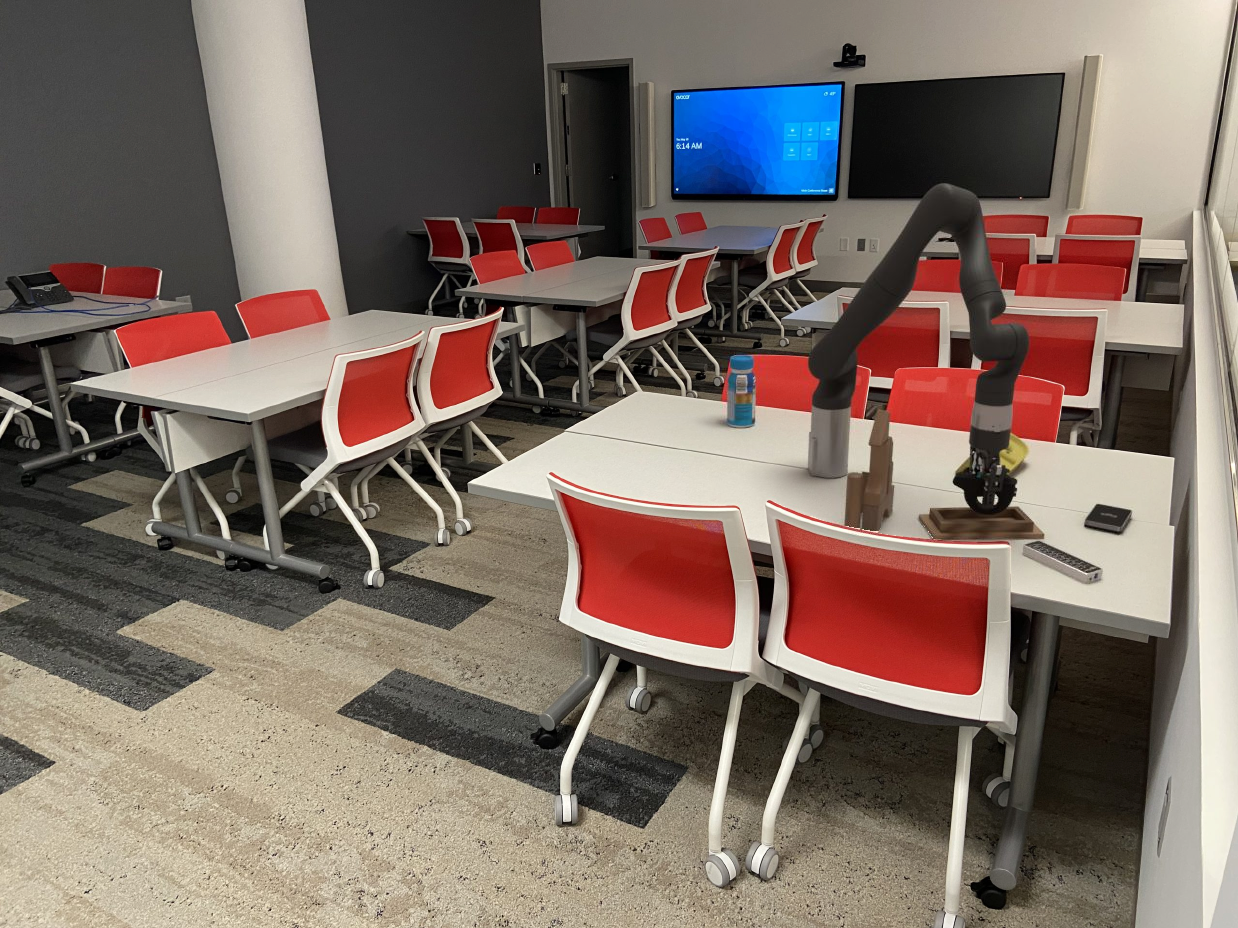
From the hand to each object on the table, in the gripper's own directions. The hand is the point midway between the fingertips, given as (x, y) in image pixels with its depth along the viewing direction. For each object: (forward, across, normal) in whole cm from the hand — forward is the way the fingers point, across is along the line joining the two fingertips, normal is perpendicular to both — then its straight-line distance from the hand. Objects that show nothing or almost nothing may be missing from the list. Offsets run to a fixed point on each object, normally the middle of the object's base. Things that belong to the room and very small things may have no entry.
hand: (982, 501), depth 182 cm
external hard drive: (+7, -2, +27) cm, 28 cm away
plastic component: (+6, -35, +15) cm, 38 cm away
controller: (+3, 0, 0) cm, 3 cm away
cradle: (+6, 0, 0) cm, 6 cm away
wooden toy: (+6, -4, -22) cm, 23 cm away
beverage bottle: (+6, -76, -43) cm, 87 cm away
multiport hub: (+7, +18, +9) cm, 21 cm away
